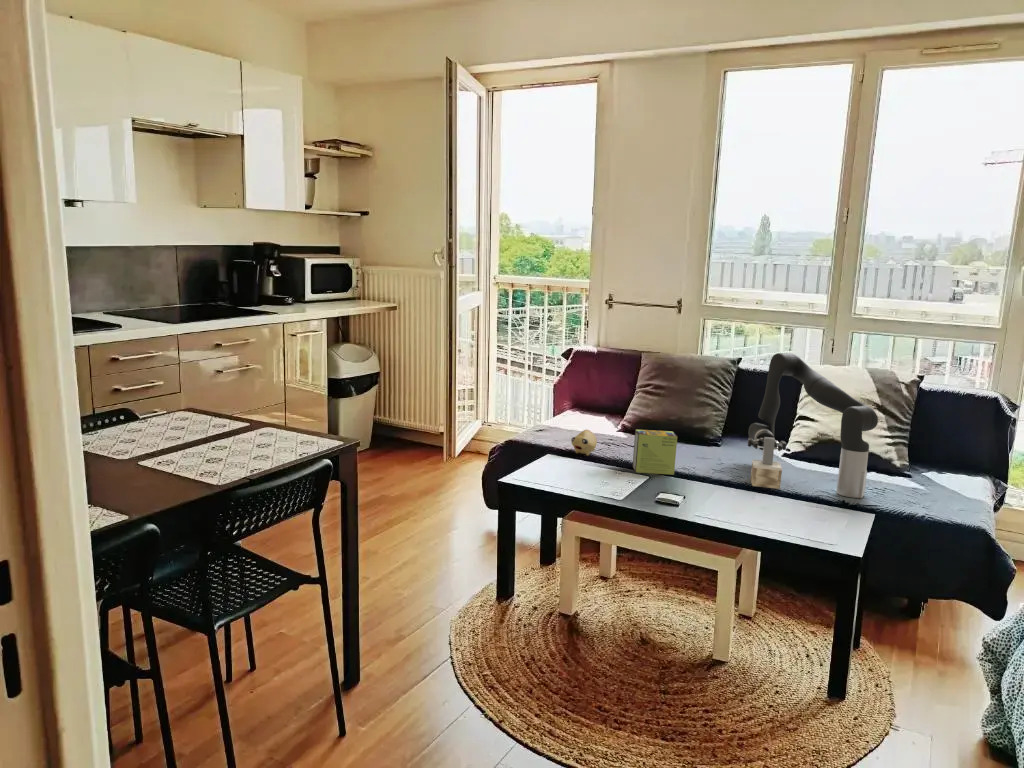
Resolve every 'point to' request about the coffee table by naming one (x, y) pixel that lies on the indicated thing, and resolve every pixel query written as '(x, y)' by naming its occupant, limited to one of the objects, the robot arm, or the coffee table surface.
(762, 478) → the storage box
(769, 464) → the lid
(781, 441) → the robot arm
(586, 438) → the yellow toy creature
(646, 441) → the protein box
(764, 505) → the coffee table surface
